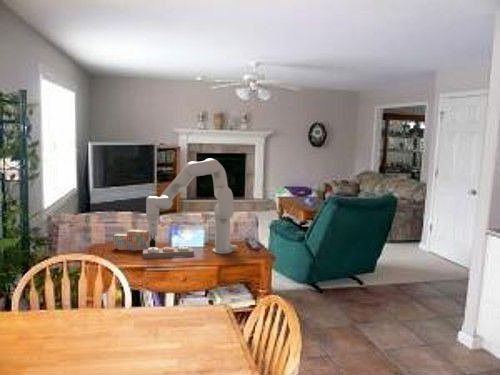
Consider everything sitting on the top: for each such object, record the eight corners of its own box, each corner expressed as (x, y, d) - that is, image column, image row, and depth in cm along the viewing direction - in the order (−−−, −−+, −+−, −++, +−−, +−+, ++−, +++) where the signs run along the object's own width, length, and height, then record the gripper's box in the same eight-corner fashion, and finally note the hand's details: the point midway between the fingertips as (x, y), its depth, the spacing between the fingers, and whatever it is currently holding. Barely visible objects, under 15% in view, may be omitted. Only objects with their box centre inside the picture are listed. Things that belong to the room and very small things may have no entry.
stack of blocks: (113, 249, 282) (112, 230, 280) (117, 247, 288) (116, 228, 286) (145, 251, 279) (145, 231, 278) (149, 248, 286) (149, 229, 284)
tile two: (187, 249, 275) (187, 245, 275) (188, 252, 270) (188, 248, 270) (178, 250, 274) (178, 246, 274) (178, 252, 269) (178, 248, 268)
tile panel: (192, 251, 278) (192, 247, 278) (193, 256, 269) (193, 251, 268) (143, 254, 272) (143, 249, 271) (142, 258, 262) (142, 253, 262)
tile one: (157, 251, 271) (157, 247, 271) (158, 253, 266) (158, 249, 266) (148, 251, 270) (148, 247, 270) (148, 253, 265) (148, 249, 264)
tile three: (172, 250, 273) (172, 246, 273) (173, 252, 268) (173, 248, 268) (163, 250, 272) (163, 246, 272) (163, 253, 267) (163, 249, 266)
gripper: (159, 219, 259) (159, 249, 261) (158, 214, 274) (158, 243, 276) (146, 219, 257) (146, 250, 259) (146, 214, 272) (146, 244, 274)
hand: (152, 246), depth 267 cm, fingers closed
